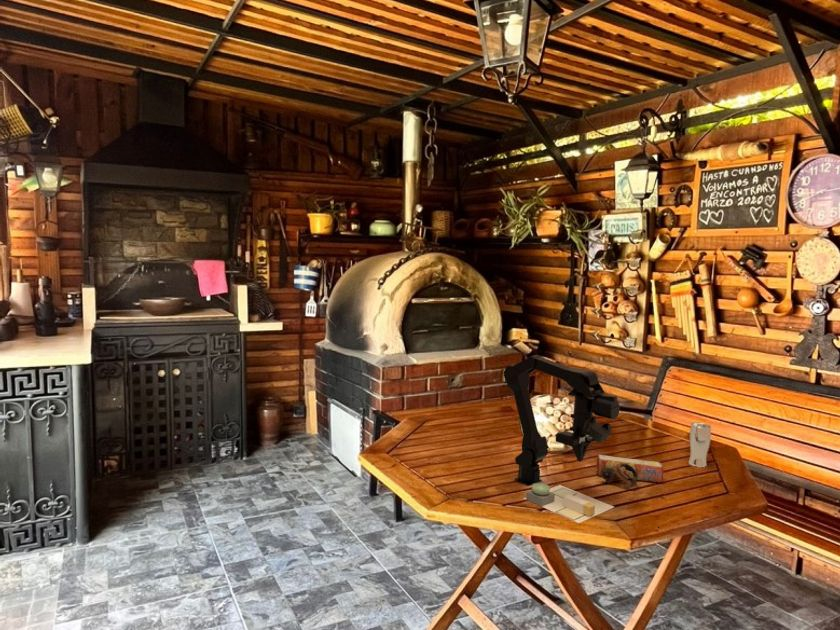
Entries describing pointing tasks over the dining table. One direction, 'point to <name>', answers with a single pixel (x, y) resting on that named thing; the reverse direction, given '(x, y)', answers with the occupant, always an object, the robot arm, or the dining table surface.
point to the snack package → (643, 468)
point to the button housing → (540, 498)
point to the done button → (540, 488)
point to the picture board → (568, 513)
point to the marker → (578, 505)
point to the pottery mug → (620, 474)
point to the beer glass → (699, 443)
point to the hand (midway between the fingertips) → (579, 461)
